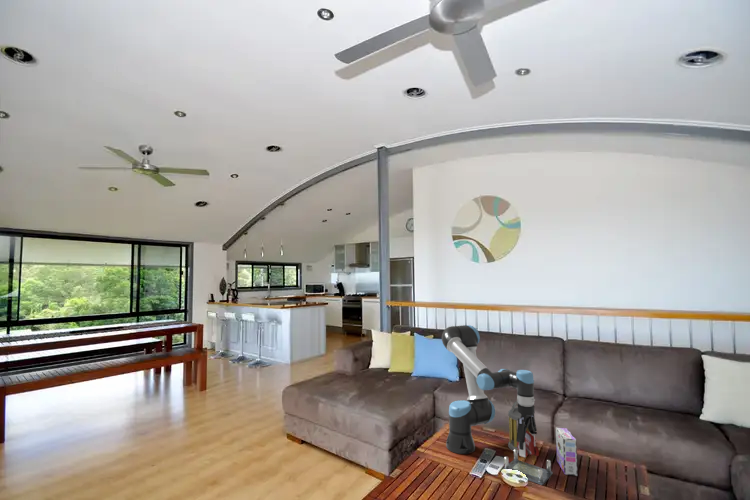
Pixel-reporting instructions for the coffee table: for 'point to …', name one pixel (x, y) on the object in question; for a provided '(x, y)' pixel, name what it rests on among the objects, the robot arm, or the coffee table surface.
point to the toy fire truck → (529, 445)
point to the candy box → (566, 451)
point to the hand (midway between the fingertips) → (527, 451)
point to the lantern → (513, 426)
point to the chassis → (529, 469)
